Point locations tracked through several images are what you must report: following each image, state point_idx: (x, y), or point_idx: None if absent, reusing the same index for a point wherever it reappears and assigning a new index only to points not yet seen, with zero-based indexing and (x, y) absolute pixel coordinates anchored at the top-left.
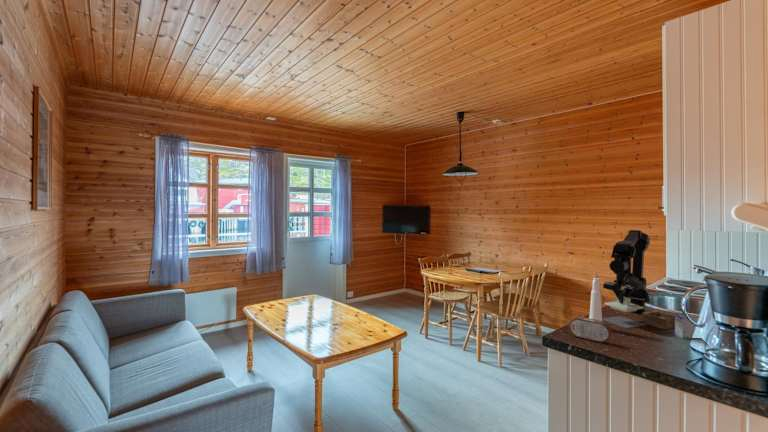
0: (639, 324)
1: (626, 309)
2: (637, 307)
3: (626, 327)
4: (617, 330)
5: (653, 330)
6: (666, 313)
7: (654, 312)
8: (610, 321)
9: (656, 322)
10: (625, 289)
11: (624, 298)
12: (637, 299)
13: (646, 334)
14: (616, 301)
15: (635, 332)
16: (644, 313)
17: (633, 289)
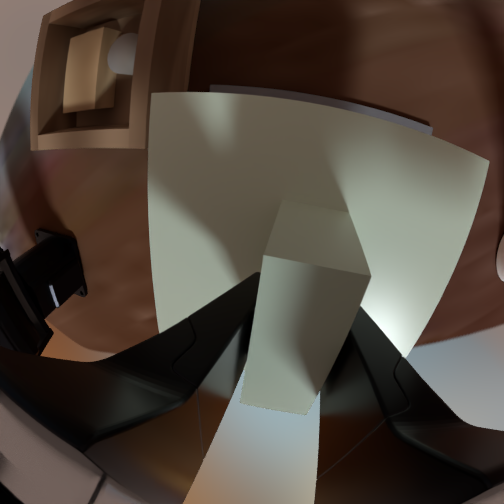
0: None
1: (485, 159)
2: (268, 103)
3: (426, 129)
4: (501, 151)
5: (294, 8)
6: (32, 90)
7: (58, 132)
8: None
9: (179, 33)
10: (170, 483)
11: (348, 324)
12: (20, 294)
13: (424, 10)
14: None
15: (452, 63)
16: (141, 128)
17: (19, 409)
